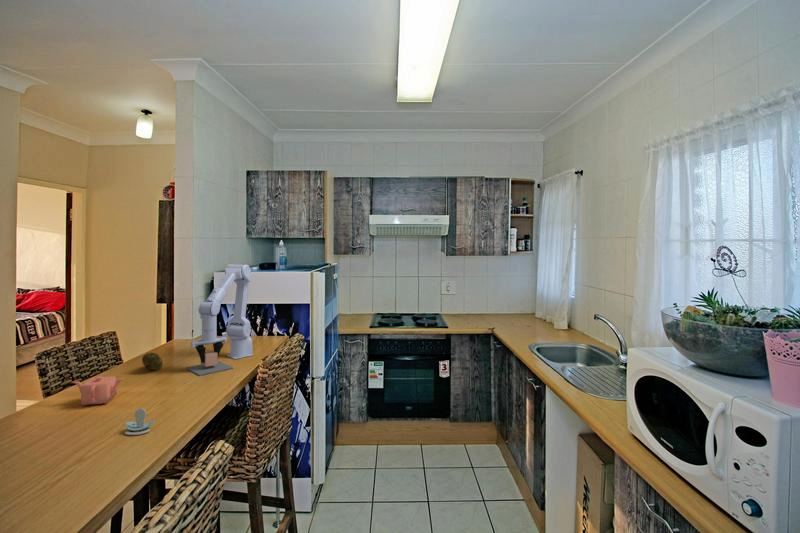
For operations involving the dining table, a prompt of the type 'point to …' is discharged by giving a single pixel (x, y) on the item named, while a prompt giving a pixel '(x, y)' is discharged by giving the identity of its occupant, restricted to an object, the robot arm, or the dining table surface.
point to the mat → (208, 368)
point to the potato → (152, 361)
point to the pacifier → (138, 424)
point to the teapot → (98, 390)
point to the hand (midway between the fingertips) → (209, 360)
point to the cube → (210, 358)
